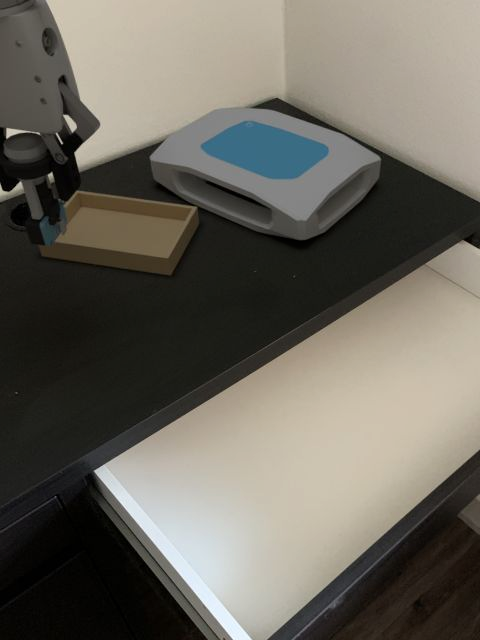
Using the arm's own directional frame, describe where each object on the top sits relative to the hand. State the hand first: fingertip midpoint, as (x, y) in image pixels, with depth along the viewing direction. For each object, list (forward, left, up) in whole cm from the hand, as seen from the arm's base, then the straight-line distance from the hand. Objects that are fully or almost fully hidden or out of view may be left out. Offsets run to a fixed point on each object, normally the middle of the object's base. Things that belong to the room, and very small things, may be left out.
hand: (41, 187), depth 65 cm
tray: (-3, +18, -19) cm, 26 cm away
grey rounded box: (+13, +36, -19) cm, 43 cm away
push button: (0, 0, -5) cm, 5 cm away
